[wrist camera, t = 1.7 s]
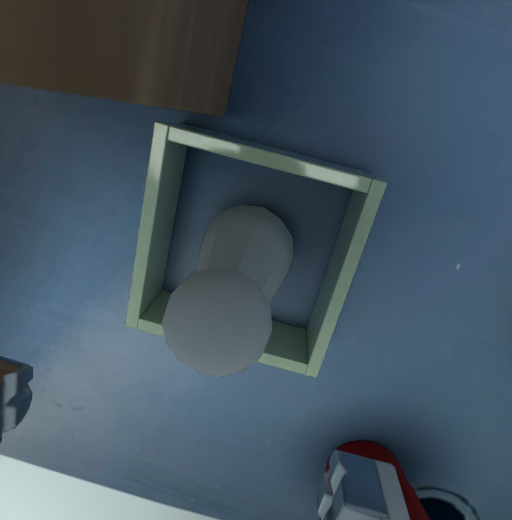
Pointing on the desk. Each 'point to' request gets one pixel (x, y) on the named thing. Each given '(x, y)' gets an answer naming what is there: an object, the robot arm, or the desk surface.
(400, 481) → the plastic cup
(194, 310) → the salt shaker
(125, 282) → the desk surface
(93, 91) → the block
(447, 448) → the desk surface
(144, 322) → the holder
